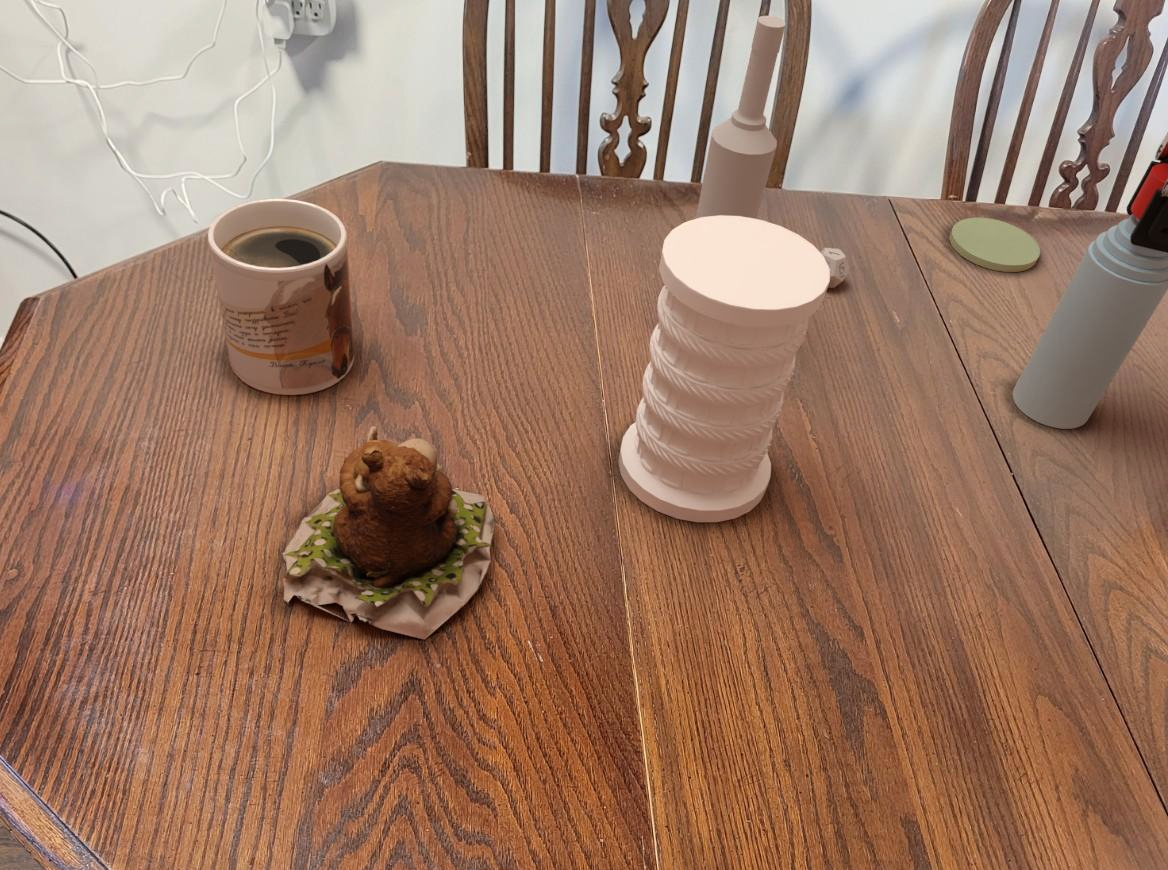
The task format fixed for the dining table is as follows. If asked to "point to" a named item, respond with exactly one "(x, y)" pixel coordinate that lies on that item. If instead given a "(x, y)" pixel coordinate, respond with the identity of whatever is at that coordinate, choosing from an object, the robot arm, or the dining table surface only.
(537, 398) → the dining table surface
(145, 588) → the dining table surface
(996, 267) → the coaster
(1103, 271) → the bottle
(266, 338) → the mug
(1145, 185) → the cap
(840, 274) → the game die
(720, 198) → the bottle
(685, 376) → the decorative container
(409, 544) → the bear figurine
